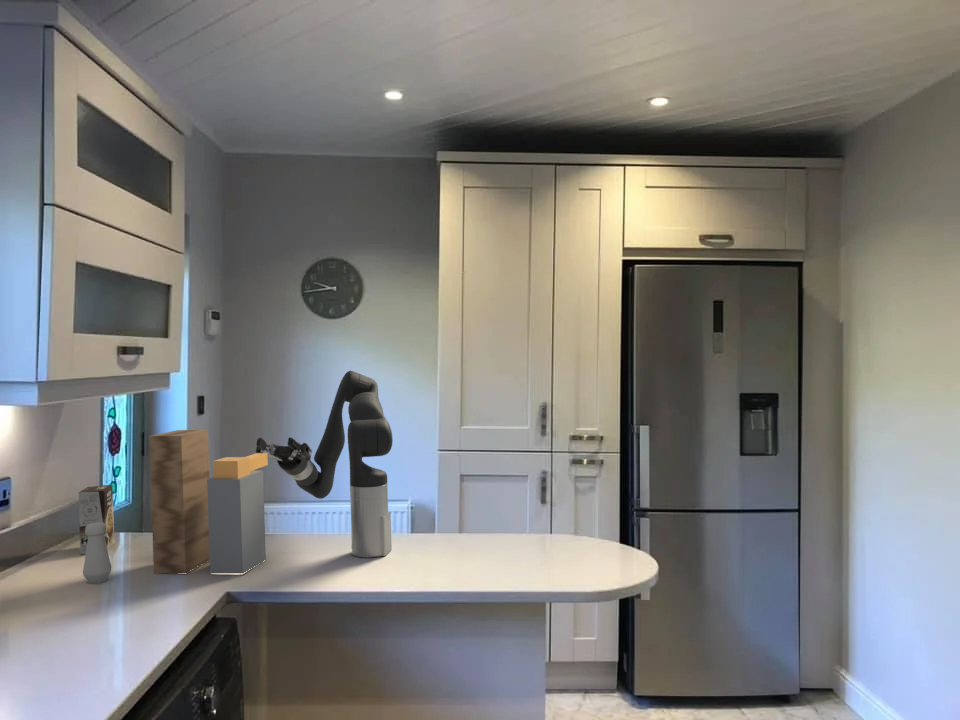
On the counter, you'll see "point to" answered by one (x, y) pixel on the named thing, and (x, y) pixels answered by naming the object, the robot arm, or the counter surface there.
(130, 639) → the counter surface
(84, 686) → the counter surface
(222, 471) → the orange block
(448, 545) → the counter surface
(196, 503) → the tall wooden block
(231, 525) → the block
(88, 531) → the salt shaker
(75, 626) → the counter surface
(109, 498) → the coffee box
